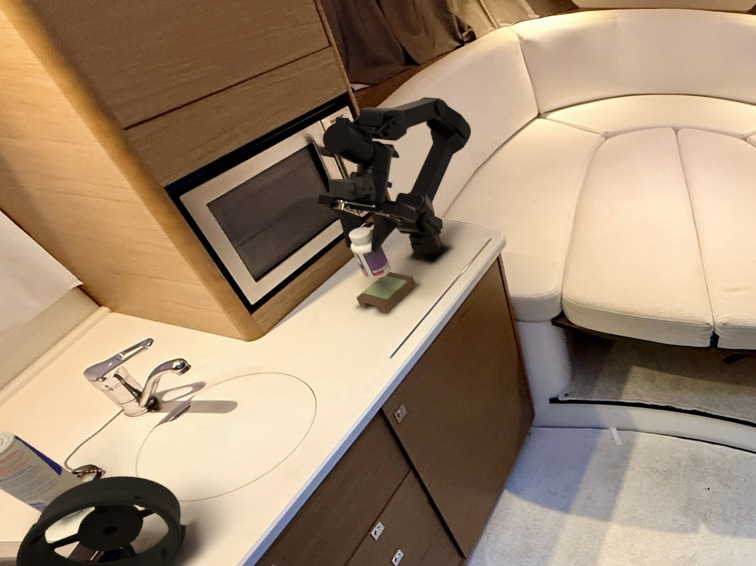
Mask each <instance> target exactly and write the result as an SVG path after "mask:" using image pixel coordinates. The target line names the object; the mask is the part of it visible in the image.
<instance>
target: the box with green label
mask: <svg viewBox="0 0 756 566" xmlns="http://www.w3.org/2000/svg"><path fill="white" fill-rule="evenodd" d="M416 287H417V284H416V282H415V279H414V277H413V276H409V275H405V274H402V273H396V272H392V271H390V272H389V273H388V274H387V275H385V276H383V277H381V278H377V279H375V281H374V282H373V283H371V284H370V285H369V286H368V287H367V288H366V289H364V290H363V291H362V292H361V293H360V294H359V295H358V296H357V297H355V298H356V301H357V303H358V304H359V306H360V308H361V307H362V308H364V309H367V308H368V307H369V306H374V307H378V308H379V311H380V313H384V314H388V313H389V312H390V311H392V310H393V308H395V307H396V306H397V305H398V304H399V303H400V302H401V301H402V300H403V299H404V298H405V297H406V296H407V295H409V293H410V292H412V291H413V290H414V289H415V288H416Z"/></svg>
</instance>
